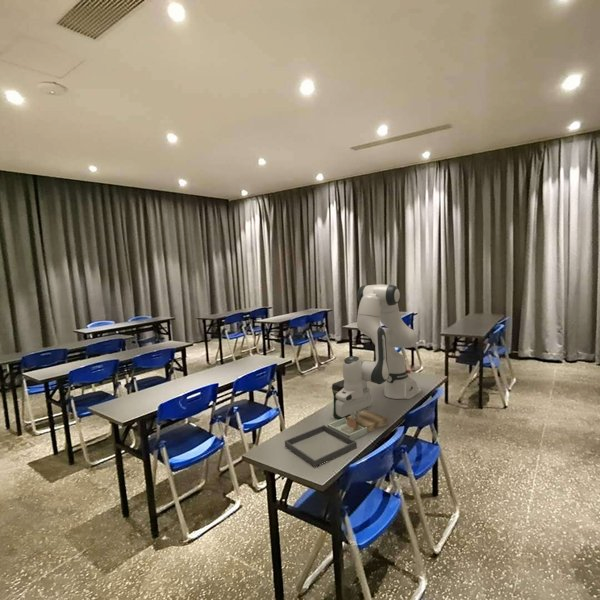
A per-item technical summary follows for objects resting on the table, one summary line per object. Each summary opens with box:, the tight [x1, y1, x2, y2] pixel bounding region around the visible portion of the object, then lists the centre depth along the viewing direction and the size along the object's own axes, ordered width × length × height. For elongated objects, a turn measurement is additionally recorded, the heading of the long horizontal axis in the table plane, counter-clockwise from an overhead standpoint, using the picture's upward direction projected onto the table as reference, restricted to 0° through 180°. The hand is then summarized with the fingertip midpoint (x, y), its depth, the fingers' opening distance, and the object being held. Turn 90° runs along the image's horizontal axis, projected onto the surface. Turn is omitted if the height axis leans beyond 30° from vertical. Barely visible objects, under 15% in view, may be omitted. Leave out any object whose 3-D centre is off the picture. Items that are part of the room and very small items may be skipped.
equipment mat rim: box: [284, 424, 358, 468], centre depth 156 cm, size 22×22×2 cm
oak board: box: [346, 409, 388, 434], centre depth 174 cm, size 13×14×3 cm
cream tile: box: [341, 425, 354, 434], centre depth 167 cm, size 4×4×2 cm
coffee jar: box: [331, 379, 351, 420], centre depth 183 cm, size 10×8×19 cm
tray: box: [327, 418, 368, 441], centre depth 167 cm, size 11×15×3 cm
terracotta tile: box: [346, 419, 357, 431], centre depth 169 cm, size 4×4×2 cm
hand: (355, 419), depth 170 cm, fingers closed
